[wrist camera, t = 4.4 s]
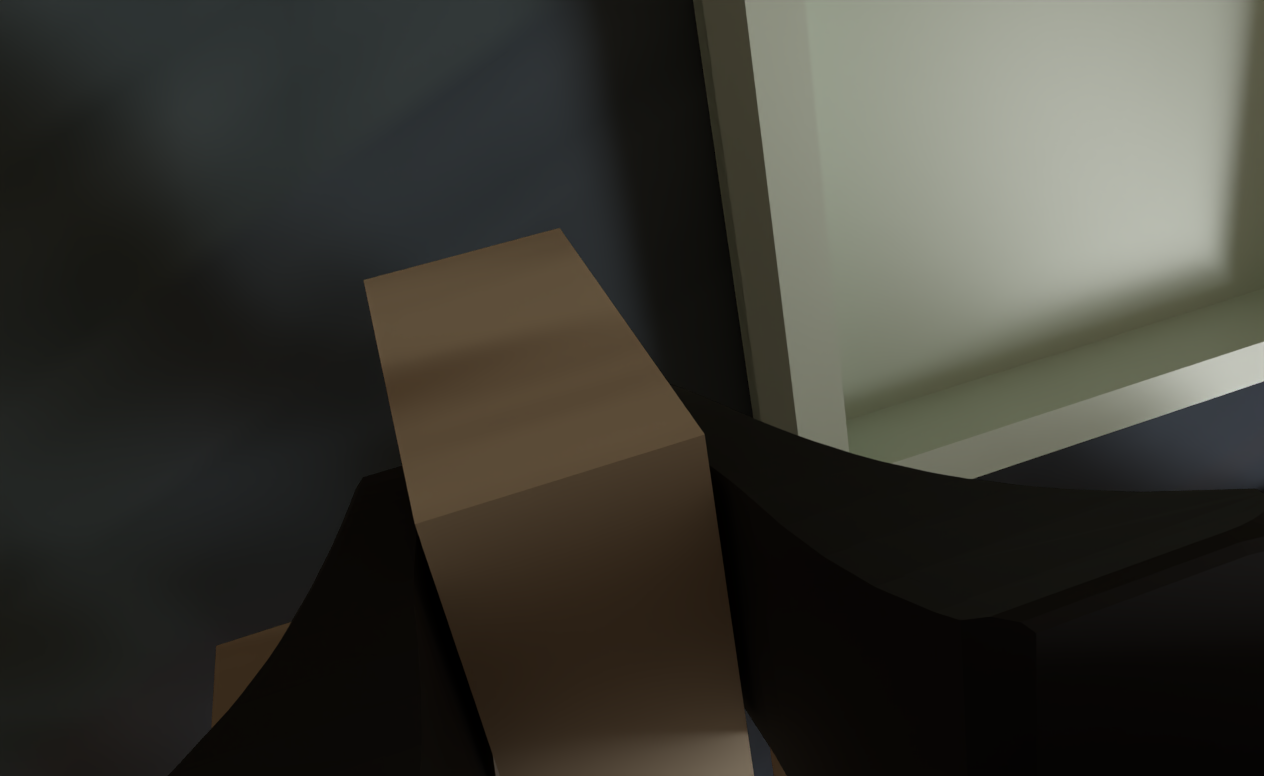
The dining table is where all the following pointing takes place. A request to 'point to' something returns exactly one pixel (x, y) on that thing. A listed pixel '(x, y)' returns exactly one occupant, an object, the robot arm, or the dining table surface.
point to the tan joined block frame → (555, 520)
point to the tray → (988, 216)
